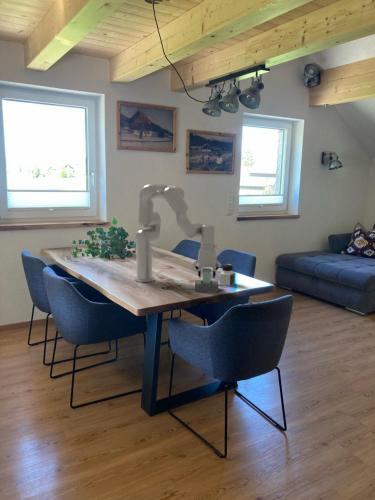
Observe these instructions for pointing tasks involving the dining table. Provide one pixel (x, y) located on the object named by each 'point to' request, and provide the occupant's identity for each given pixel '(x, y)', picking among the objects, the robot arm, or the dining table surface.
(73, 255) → the dining table surface
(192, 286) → the pad
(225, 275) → the medicine bottle
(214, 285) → the header
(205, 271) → the plug
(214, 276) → the robot arm
